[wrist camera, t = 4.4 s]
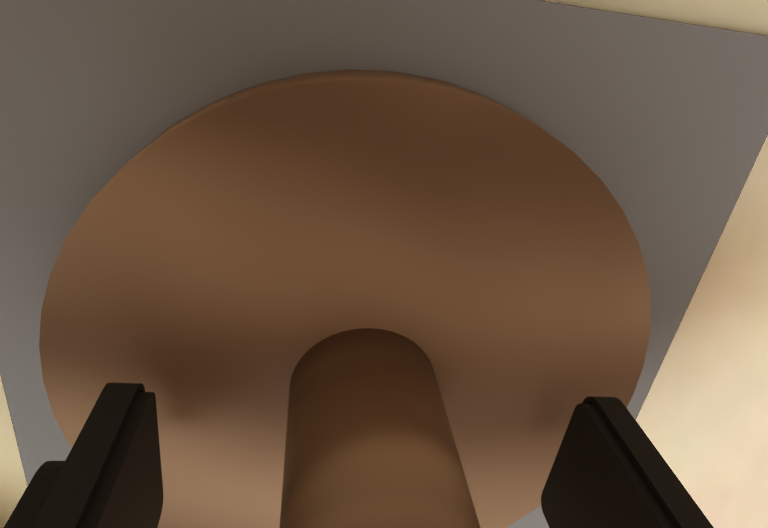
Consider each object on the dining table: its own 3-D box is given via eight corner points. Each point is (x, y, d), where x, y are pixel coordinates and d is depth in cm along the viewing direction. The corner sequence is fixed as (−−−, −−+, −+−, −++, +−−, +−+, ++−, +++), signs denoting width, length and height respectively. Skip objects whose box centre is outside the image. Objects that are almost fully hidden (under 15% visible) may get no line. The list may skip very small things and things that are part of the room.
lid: (11, 25, 9) (-767, 134, 2) (709, 108, 11) (1261, 285, 4) (101, 536, 15) (-62, 954, 8) (543, 528, 17) (681, 862, 10)
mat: (-90, -96, 8) (-118, -102, 8) (786, 39, 11) (810, 42, 10) (57, 550, 16) (48, 570, 15) (564, 541, 18) (571, 558, 18)
